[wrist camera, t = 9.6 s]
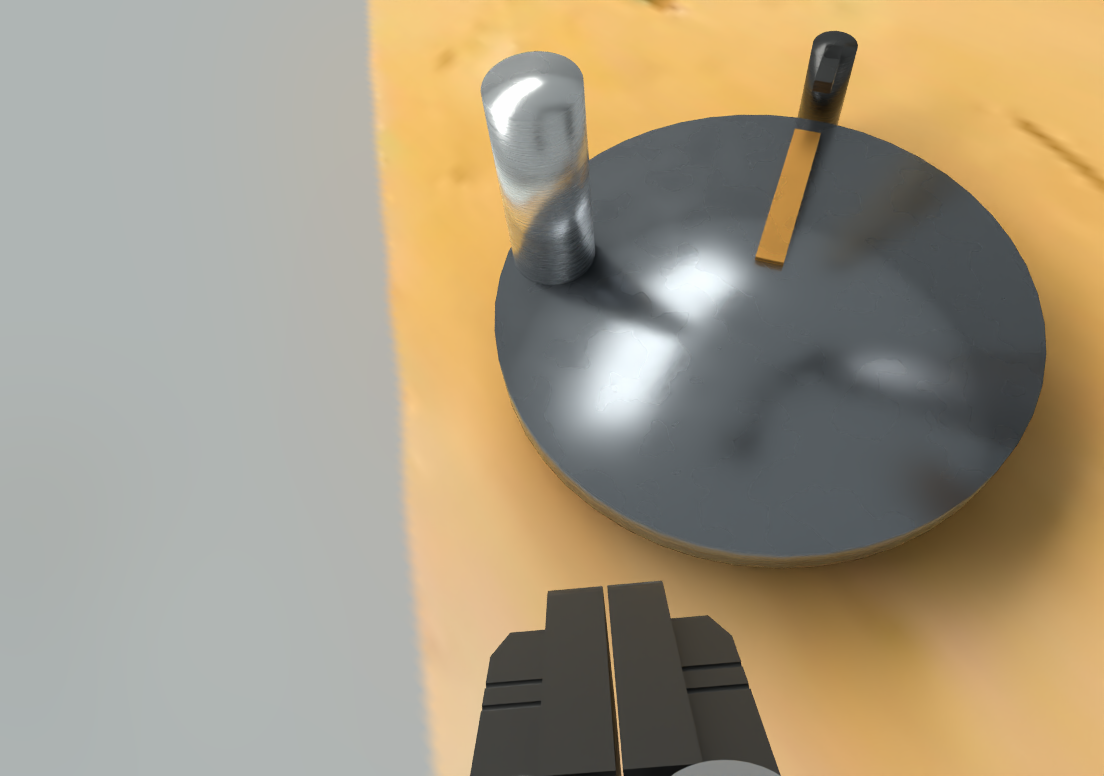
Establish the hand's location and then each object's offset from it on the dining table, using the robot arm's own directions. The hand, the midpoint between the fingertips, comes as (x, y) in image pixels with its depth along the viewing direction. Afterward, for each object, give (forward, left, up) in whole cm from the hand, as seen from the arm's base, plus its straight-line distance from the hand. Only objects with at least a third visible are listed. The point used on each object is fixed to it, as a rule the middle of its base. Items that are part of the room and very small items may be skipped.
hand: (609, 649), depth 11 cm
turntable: (-8, -18, -19) cm, 27 cm away
